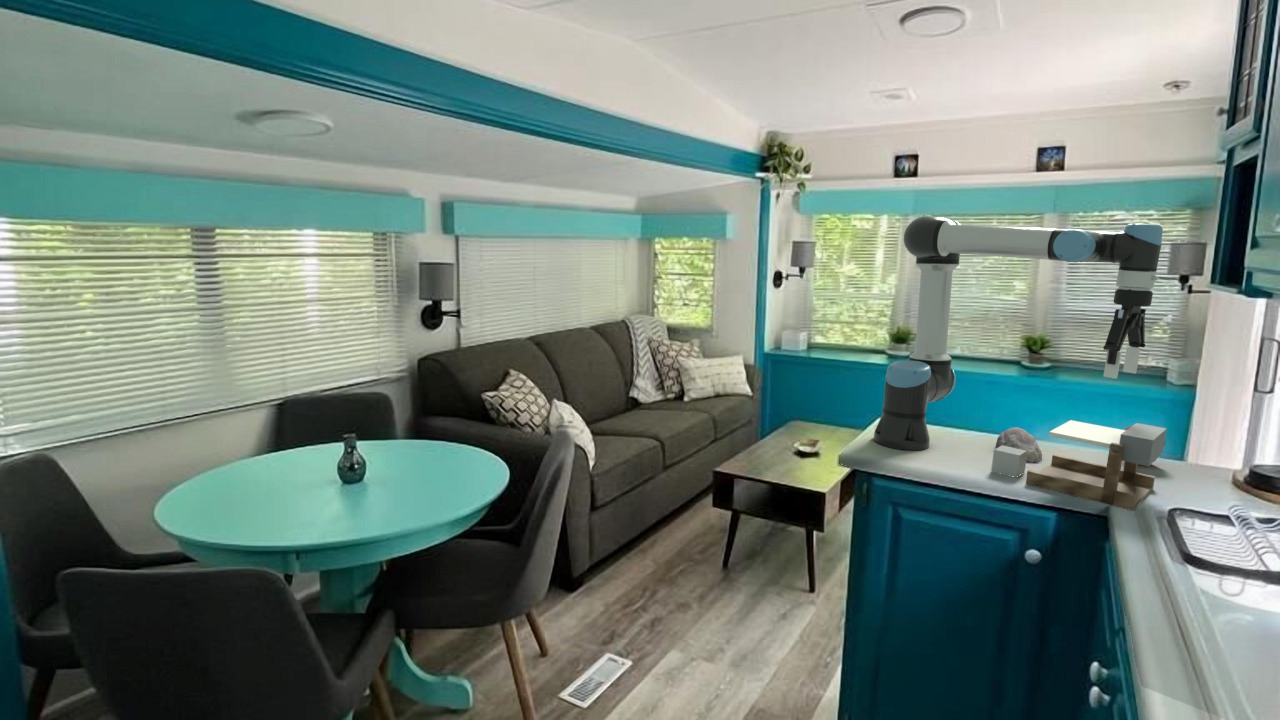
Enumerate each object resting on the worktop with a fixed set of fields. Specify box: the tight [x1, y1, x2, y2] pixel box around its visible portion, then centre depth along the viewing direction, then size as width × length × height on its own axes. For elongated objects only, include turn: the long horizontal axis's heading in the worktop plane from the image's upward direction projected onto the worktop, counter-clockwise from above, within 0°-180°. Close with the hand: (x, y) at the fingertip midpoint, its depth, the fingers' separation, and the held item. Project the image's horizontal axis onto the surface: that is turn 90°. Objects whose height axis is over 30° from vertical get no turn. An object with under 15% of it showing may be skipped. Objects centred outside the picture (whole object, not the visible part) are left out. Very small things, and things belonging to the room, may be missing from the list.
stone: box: [994, 426, 1043, 463], centre depth 194 cm, size 17×10×10 cm
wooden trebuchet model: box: [1025, 443, 1156, 512], centre depth 168 cm, size 22×22×14 cm
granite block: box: [990, 445, 1027, 478], centre depth 177 cm, size 6×6×6 cm
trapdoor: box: [1048, 419, 1167, 467], centre depth 165 cm, size 20×18×6 cm
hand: (1120, 375), depth 171 cm, fingers open, 13 cm apart
